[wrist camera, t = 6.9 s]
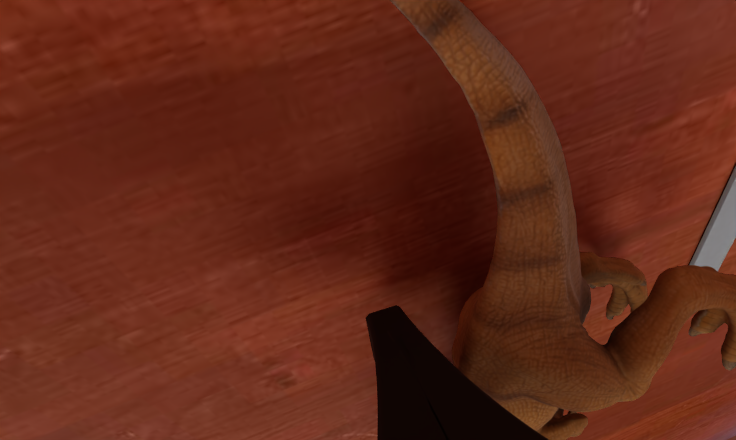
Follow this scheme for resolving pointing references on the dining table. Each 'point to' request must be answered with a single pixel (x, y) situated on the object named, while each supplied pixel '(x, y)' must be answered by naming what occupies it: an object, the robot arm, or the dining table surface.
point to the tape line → (719, 230)
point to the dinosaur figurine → (553, 259)
